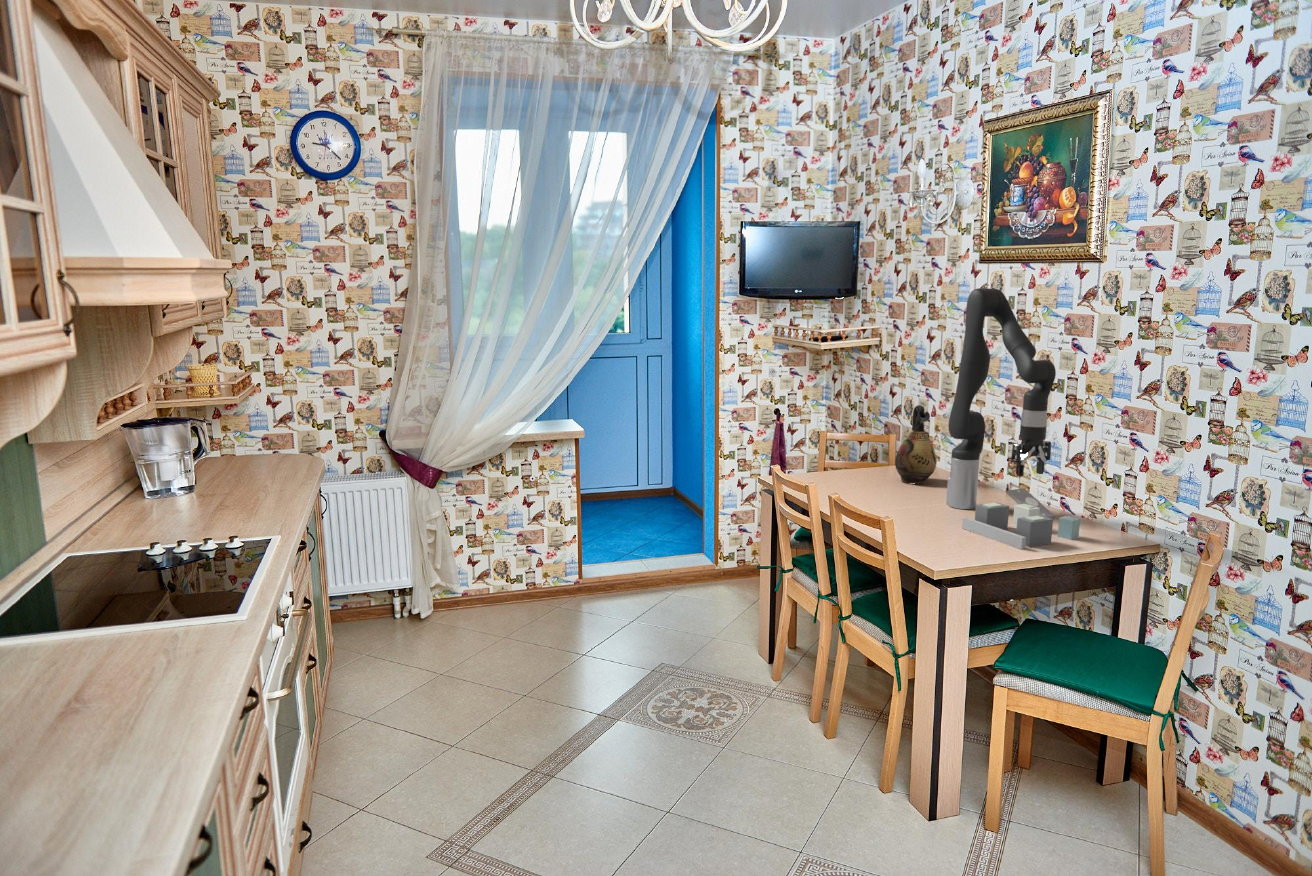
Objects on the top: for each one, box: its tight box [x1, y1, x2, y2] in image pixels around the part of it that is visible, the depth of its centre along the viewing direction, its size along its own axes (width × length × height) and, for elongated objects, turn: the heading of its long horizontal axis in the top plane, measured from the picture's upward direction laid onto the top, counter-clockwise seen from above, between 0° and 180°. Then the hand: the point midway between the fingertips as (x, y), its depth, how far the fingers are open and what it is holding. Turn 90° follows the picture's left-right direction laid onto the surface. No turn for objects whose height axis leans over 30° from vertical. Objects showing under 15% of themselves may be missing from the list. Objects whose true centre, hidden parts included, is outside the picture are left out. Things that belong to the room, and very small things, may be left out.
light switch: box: [1006, 487, 1055, 519], centre depth 296 cm, size 8×6×14 cm
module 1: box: [1012, 504, 1040, 528], centre depth 280 cm, size 6×4×7 cm
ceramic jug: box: [894, 404, 937, 485], centre depth 343 cm, size 17×15×30 cm
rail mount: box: [961, 502, 1054, 550], centre depth 271 cm, size 24×13×8 cm, turn 24°
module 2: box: [1057, 515, 1081, 541], centre depth 270 cm, size 4×4×6 cm
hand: (1029, 474), depth 278 cm, fingers open, 8 cm apart
